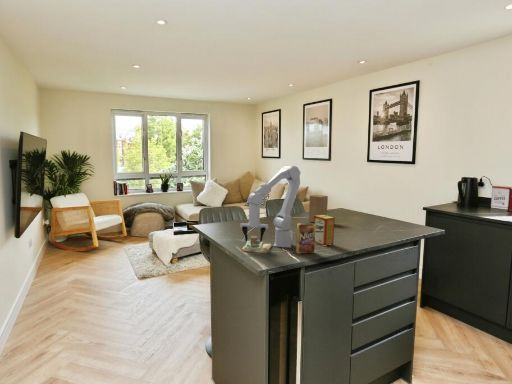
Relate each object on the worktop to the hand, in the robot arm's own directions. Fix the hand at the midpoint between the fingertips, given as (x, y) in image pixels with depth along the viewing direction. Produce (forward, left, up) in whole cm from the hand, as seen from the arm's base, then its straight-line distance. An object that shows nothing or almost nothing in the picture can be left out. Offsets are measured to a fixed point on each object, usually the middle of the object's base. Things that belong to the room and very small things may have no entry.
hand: (253, 241), depth 173 cm
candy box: (-27, 0, -4) cm, 28 cm away
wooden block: (-28, -82, -4) cm, 86 cm away
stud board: (-2, 0, -4) cm, 4 cm away
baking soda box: (-35, -22, -4) cm, 41 cm away
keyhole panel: (0, 0, -3) cm, 3 cm away
